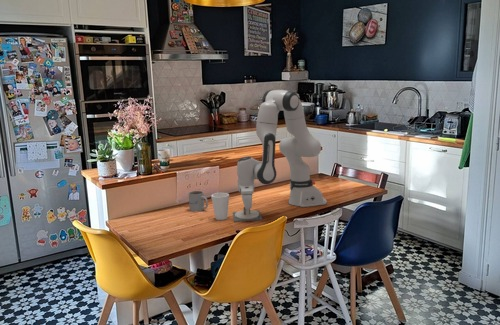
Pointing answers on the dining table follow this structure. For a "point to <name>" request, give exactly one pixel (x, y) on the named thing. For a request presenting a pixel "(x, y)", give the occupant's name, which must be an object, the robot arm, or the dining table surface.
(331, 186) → the dining table surface
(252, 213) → the lid
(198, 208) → the mug
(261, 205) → the dining table surface
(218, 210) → the foam cup
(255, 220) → the mat
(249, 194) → the robot arm
